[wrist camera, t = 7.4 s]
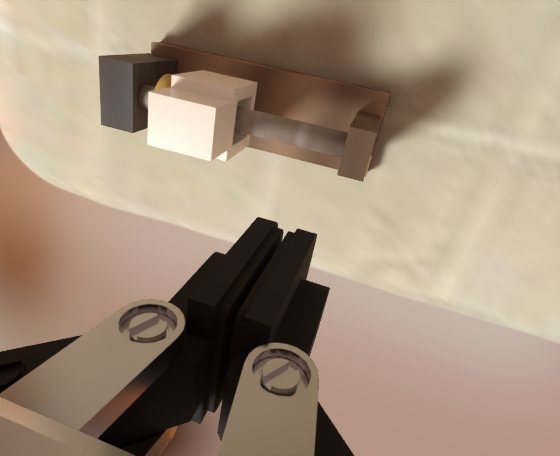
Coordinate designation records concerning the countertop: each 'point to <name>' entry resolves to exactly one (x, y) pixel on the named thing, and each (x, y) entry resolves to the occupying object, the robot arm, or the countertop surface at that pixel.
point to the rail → (256, 105)
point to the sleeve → (200, 114)
